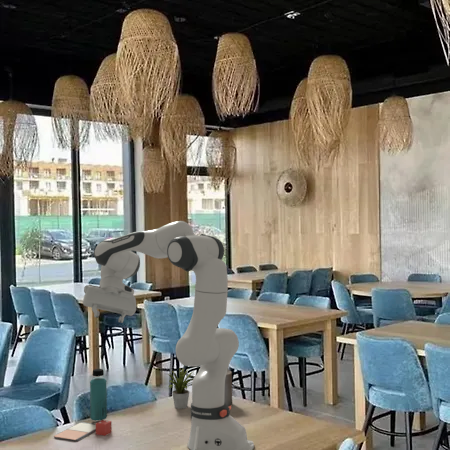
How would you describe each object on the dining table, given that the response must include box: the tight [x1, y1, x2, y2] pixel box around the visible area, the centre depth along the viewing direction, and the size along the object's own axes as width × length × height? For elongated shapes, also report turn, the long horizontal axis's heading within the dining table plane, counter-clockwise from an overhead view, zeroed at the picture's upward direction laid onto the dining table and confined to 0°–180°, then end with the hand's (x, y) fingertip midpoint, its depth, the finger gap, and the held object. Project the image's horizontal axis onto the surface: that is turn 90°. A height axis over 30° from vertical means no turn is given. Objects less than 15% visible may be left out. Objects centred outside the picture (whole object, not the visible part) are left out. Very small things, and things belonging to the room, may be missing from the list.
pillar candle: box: [224, 369, 233, 407], centre depth 247 cm, size 10×10×15 cm
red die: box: [95, 419, 112, 437], centre depth 213 cm, size 4×4×4 cm
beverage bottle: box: [89, 368, 108, 421], centre depth 226 cm, size 6×7×20 cm
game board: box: [53, 421, 96, 442], centre depth 214 cm, size 10×17×1 cm, turn 158°
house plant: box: [164, 366, 197, 410], centre depth 243 cm, size 14×14×16 cm
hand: (108, 319), depth 220 cm, fingers open, 8 cm apart
